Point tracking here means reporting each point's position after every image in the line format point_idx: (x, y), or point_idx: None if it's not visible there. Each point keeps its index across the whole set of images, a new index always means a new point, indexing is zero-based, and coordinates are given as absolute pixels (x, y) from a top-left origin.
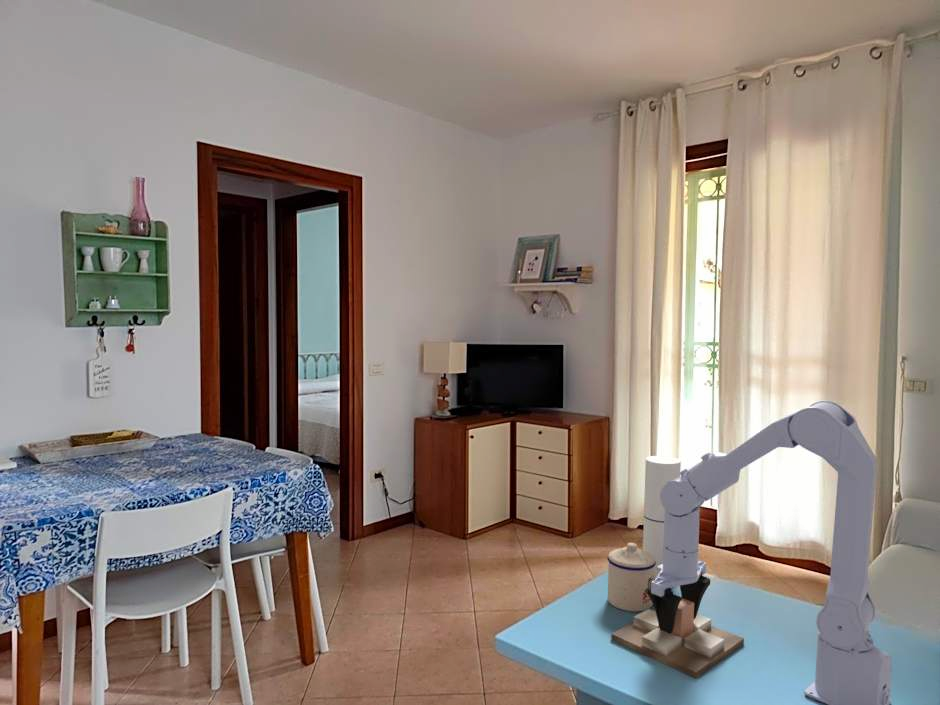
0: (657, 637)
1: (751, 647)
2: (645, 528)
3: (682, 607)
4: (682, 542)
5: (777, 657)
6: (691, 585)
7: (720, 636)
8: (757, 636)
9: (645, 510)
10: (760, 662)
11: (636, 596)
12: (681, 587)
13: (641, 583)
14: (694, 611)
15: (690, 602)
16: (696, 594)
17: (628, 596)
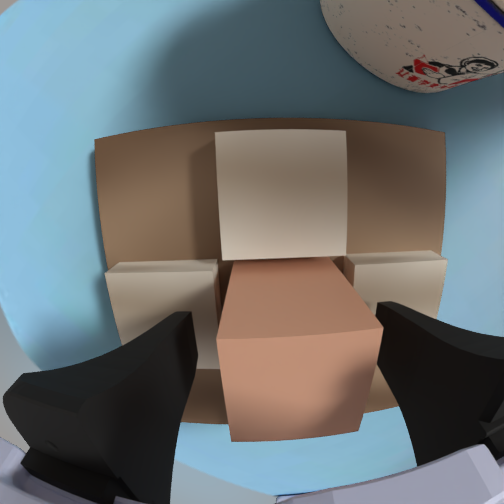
0: (148, 314)
1: (391, 408)
2: None
3: (257, 434)
4: None
5: (379, 443)
6: (444, 433)
7: (379, 377)
8: None
9: None
10: (337, 443)
11: (381, 41)
12: (452, 356)
13: (433, 34)
14: (382, 367)
15: (346, 425)
16: (417, 424)
17: (353, 15)
